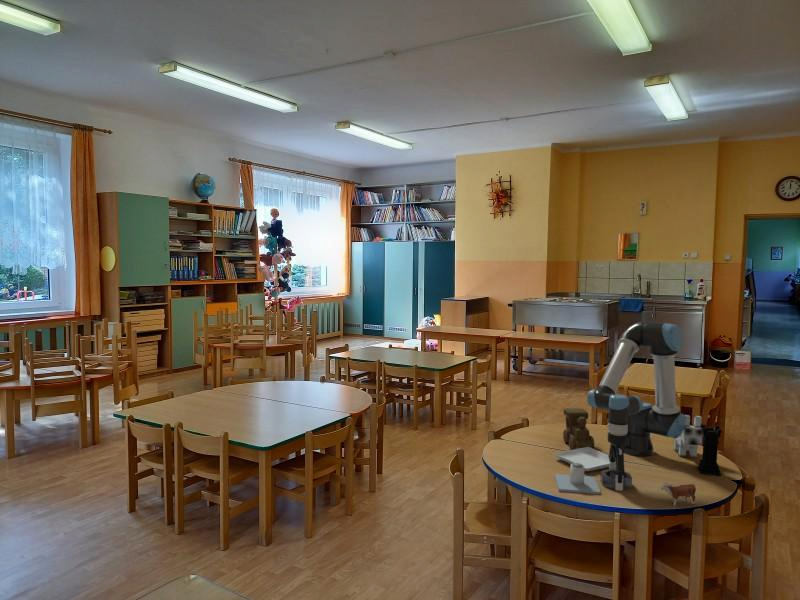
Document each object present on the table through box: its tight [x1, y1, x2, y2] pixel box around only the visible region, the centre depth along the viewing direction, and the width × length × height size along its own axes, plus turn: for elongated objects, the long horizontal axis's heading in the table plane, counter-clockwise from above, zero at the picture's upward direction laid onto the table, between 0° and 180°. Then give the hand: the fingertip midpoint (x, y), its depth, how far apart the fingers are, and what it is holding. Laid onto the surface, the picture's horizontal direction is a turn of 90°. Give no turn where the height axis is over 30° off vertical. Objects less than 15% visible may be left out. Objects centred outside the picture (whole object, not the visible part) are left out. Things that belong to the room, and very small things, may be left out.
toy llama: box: [672, 414, 704, 459], centre depth 273 cm, size 8×18×20 cm, turn 171°
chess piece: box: [696, 423, 723, 477], centre depth 251 cm, size 8×8×20 cm
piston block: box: [554, 463, 602, 495], centre depth 236 cm, size 16×16×8 cm
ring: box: [599, 468, 633, 491], centre depth 237 cm, size 12×12×4 cm
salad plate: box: [554, 447, 610, 472], centre depth 261 cm, size 21×21×3 cm
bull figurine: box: [660, 481, 697, 506], centre depth 219 cm, size 4×13×8 cm, turn 95°
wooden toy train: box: [562, 407, 595, 450], centre depth 284 cm, size 20×11×17 cm, turn 179°
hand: (615, 483), depth 237 cm, fingers open, 13 cm apart
